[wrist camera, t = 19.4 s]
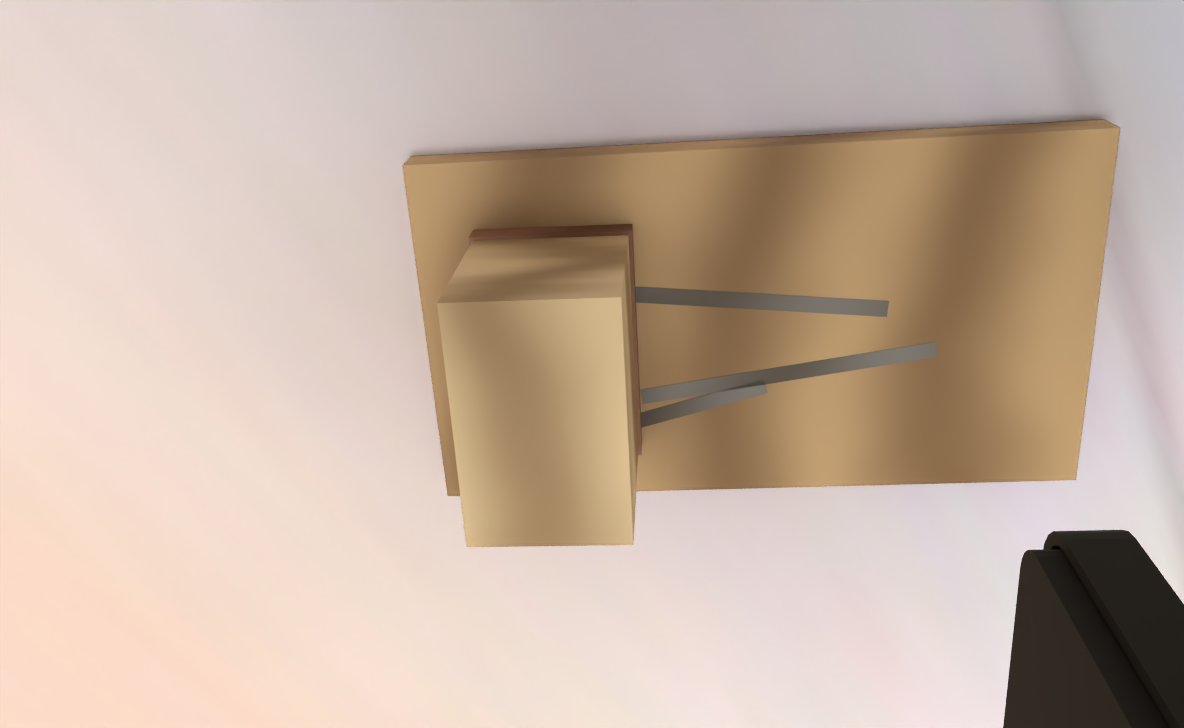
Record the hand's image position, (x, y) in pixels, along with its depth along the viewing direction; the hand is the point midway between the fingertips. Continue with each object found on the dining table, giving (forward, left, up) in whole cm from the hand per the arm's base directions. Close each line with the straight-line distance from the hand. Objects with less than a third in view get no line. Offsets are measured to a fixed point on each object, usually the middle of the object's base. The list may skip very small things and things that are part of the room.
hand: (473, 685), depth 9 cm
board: (-4, +6, -24) cm, 25 cm away
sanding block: (+2, +6, -23) cm, 24 cm away
